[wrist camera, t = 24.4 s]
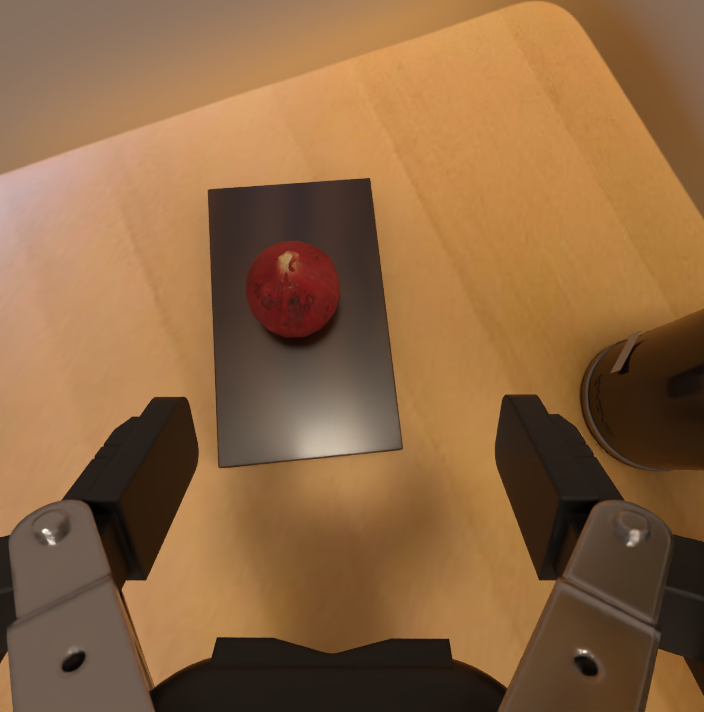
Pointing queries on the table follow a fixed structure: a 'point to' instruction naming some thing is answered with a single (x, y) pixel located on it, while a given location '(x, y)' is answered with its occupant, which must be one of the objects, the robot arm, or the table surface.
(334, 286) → the onion
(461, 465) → the table surface
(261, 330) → the walnut board
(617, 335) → the table surface
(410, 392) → the table surface
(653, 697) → the table surface
